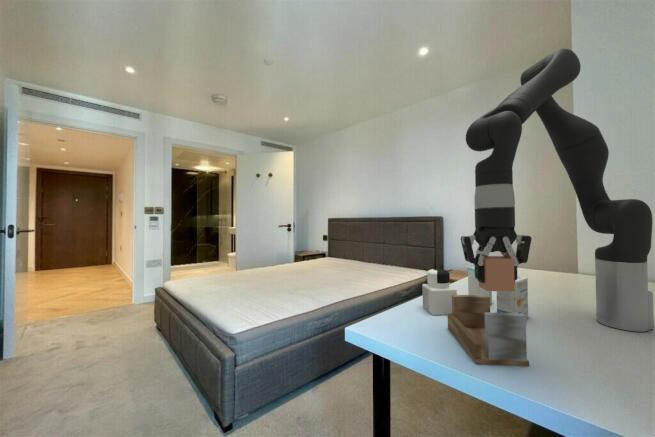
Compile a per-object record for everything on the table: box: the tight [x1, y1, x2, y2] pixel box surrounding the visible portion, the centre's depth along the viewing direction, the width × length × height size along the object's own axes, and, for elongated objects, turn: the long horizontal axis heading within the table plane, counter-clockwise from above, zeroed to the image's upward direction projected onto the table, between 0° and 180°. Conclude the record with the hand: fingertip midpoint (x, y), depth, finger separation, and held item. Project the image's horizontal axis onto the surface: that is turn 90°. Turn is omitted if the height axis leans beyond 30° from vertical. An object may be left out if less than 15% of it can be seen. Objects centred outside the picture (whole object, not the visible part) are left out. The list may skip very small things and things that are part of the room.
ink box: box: [496, 275, 529, 319], centre depth 75 cm, size 8×5×15 cm, turn 123°
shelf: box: [447, 294, 530, 367], centre depth 60 cm, size 10×17×10 cm, turn 172°
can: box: [467, 265, 493, 304], centre depth 89 cm, size 7×7×12 cm
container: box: [421, 268, 458, 316], centre depth 83 cm, size 8×8×13 cm
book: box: [478, 255, 515, 292], centre depth 58 cm, size 6×4×7 cm
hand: (495, 281), depth 58 cm, fingers closed on book, 5 cm apart
